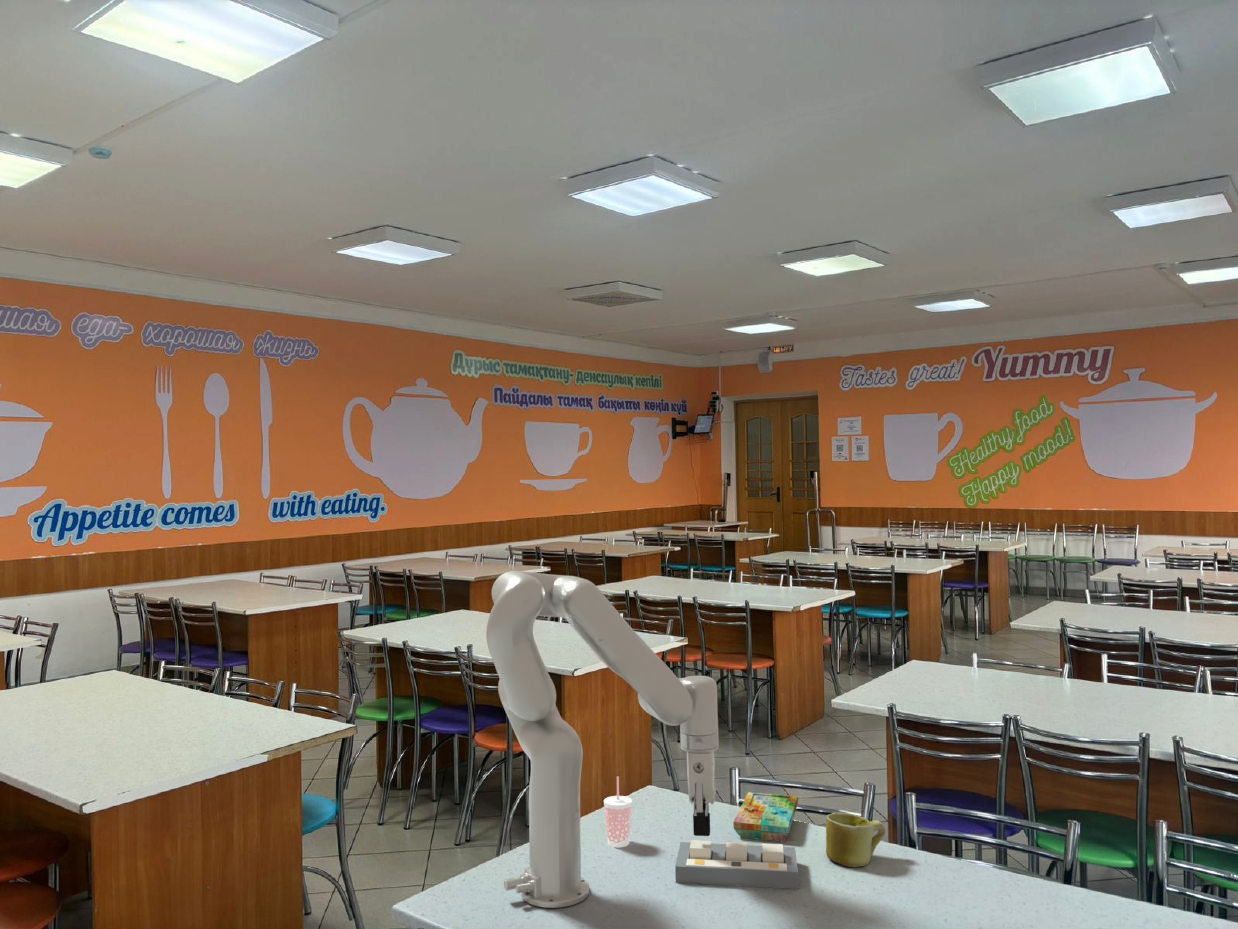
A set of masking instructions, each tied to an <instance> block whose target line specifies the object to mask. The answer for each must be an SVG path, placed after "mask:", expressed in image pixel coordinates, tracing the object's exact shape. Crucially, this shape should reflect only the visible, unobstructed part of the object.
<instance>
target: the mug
mask: <svg viewBox="0 0 1238 929" xmlns="http://www.w3.org/2000/svg"><path fill="white" fill-rule="evenodd" d="M825 826H826V827H825V833H826V834H825V835H826V838H825V839H826V840H825V844H826V845H825V852H826V854H825V855H826V857H827V858H828V859H829V860H831V861H833V862H835V863H837V864H840V865H842V866H845V867H849V868H857V867H864V866H867V865H868V864H869V863H870V861H871V857H872V856H873V854H874V852H875V849H876V848H877V846H878V845H879V843H880V842H881V841H882V840H883V838H884V837H885V835H886V827H885V825H884V823H882V821H879V820H876V819H875V820H871V821H869V820H868V819H867V817H862V816H860V815H858V814H853V813H847V812H832V813H830V814H827V815H826V825H825ZM875 831H877V832H876V834H875V835H874V833H875Z"/></svg>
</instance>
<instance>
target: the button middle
mask: <svg viewBox="0 0 1238 929" xmlns="http://www.w3.org/2000/svg"><path fill="white" fill-rule="evenodd" d="M725 844H726V861H745V862H747V845H748V842H740V841H739V842H738V841H737V842H736V841H726V843H725Z"/></svg>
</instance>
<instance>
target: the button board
mask: <svg viewBox="0 0 1238 929" xmlns="http://www.w3.org/2000/svg"><path fill="white" fill-rule="evenodd" d="M690 844H691V841H690V842H687V841H685V842H684V841H680V843H679V847H678V852H677V857H676V862H675V870H674V871H675V872H674V873H675V883H678V884H679V883H680V884H681V883H682V884H697V883H700V885H702V884H703V885H718V886H737V887H738V886H741V887H756V888H757V887H758V888H774V889H775V888H776V889H789V890H790V889H793V890H794V889H796V890H798V889H799V869H798V862H797V853H796V852H797V851H796V847H792V846H783V852H784V863H765V862H763V859H762V845H755V844H753V845H749V844H747V862H745V861H726V843H725V844H724V843H711V853H712V857H711V860H704V859H690Z"/></svg>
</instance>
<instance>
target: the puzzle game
mask: <svg viewBox="0 0 1238 929" xmlns="http://www.w3.org/2000/svg"><path fill="white" fill-rule="evenodd" d="M798 804H799V796H798V795H797V796H794V795H785V794H774V793H761V792H750V791H749V792H747V794H746V795H745V798H744V800H743V801H742V804H741V806H740V808H739V810H738V812H737V814H736V816H735V818H734V820H733V829H734V831H735V833H736V834H737V835H738V836H739V837H740V838H745V839H755V840H763V841H772V842H783V843H784V842H785V840H786V839H787V838H788V836H789V835H790V834H789V833H790V830H791V827H792V824H793V821H794V818H795V815H796V811H797V807H798Z"/></svg>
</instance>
